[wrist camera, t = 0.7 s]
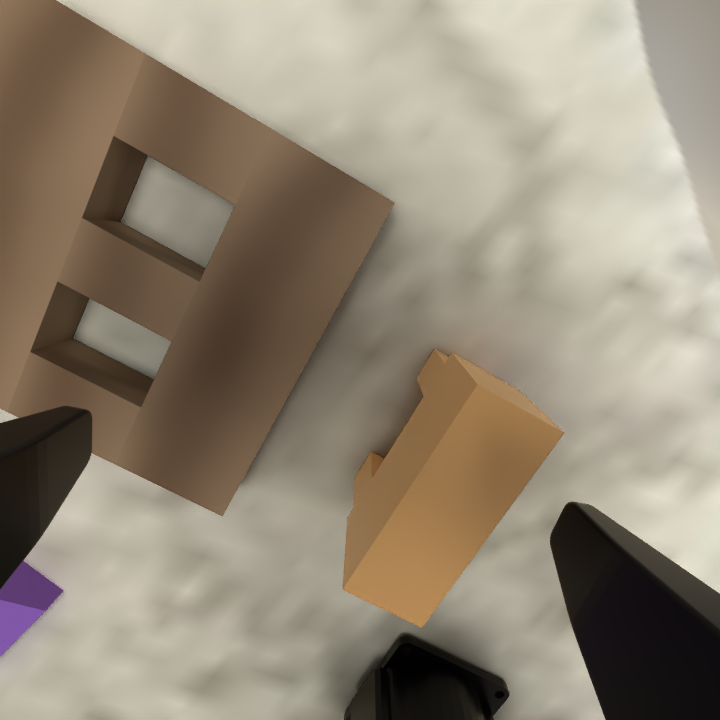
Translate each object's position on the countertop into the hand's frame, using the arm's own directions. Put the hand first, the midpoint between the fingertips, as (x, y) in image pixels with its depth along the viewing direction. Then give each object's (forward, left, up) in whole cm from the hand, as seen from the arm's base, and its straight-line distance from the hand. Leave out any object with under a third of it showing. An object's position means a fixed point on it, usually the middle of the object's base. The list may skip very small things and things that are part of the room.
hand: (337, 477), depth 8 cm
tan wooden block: (-5, +2, -11) cm, 12 cm away
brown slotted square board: (+8, +1, -11) cm, 14 cm away
